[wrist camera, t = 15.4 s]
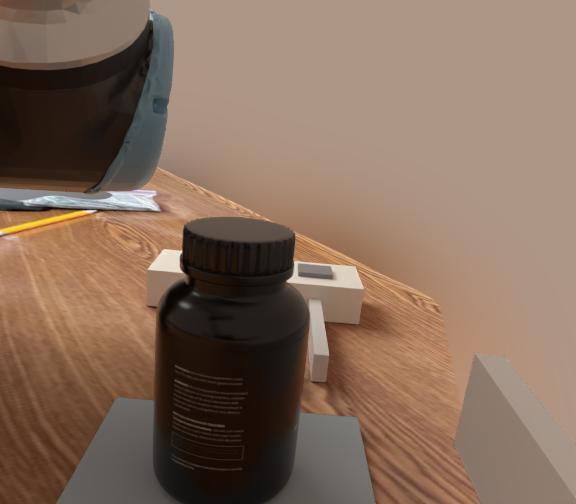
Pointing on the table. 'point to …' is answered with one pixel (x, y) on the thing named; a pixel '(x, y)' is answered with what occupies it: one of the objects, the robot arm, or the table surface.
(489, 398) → the robot arm
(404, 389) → the table surface
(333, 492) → the rubber mat
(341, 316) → the power strip dock
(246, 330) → the supplement bottle
